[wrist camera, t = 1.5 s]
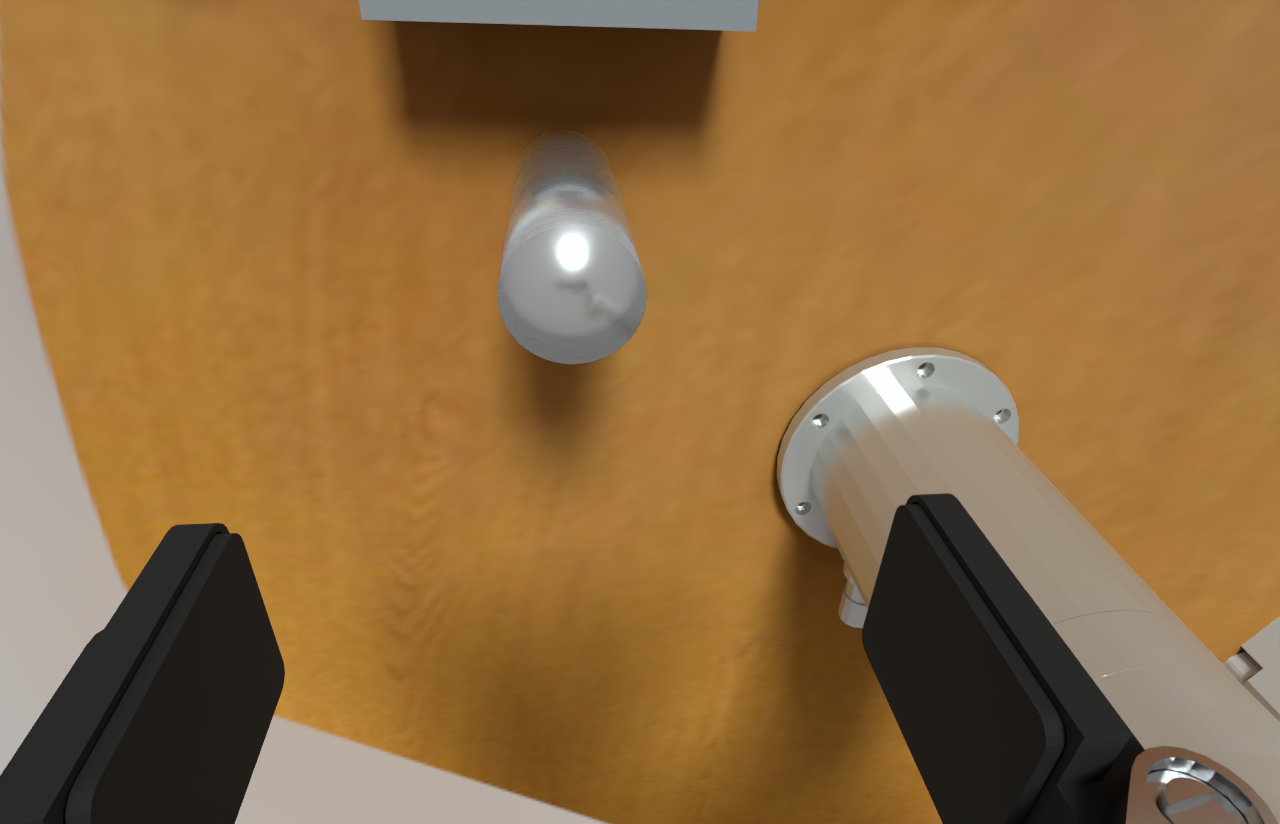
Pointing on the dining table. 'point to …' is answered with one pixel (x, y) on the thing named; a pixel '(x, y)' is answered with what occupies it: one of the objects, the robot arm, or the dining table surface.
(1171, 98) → the dining table surface
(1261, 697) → the hinge
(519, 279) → the steel pin
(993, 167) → the dining table surface
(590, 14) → the hole block
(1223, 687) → the robot arm
